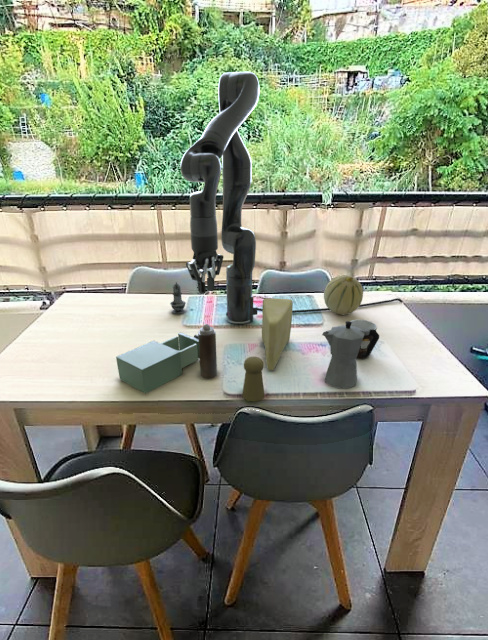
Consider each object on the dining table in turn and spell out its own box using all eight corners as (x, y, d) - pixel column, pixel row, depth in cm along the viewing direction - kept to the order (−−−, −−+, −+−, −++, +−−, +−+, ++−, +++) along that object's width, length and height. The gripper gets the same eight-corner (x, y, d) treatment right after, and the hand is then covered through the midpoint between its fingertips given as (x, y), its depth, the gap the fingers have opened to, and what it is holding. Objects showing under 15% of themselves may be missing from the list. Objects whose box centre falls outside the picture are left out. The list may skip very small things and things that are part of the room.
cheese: (287, 372, 122) (290, 325, 114) (254, 370, 123) (254, 323, 115) (290, 340, 141) (293, 297, 133) (261, 338, 142) (262, 296, 134)
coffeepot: (320, 389, 114) (327, 329, 105) (314, 372, 122) (320, 315, 113) (376, 388, 114) (388, 328, 105) (366, 371, 123) (376, 314, 113)
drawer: (192, 343, 136) (191, 327, 133) (215, 353, 131) (214, 336, 128) (151, 363, 125) (149, 346, 122) (174, 374, 119) (173, 356, 116)
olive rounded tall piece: (241, 389, 114) (241, 353, 108) (263, 388, 114) (264, 353, 109) (243, 402, 109) (243, 365, 103) (265, 400, 109) (267, 364, 104)
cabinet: (156, 362, 127) (153, 340, 123) (182, 374, 121) (180, 351, 117) (119, 379, 118) (115, 356, 115) (145, 393, 112) (142, 369, 108)
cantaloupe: (331, 303, 171) (336, 267, 163) (366, 311, 163) (372, 273, 156) (315, 314, 160) (318, 276, 153) (350, 323, 153) (356, 283, 145)
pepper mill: (216, 370, 123) (214, 320, 115) (218, 378, 119) (216, 327, 111) (199, 371, 122) (196, 321, 114) (201, 379, 118) (198, 328, 110)
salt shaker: (187, 309, 165) (185, 279, 158) (184, 315, 160) (182, 284, 153) (173, 308, 165) (170, 279, 159) (169, 314, 160) (166, 284, 154)
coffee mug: (372, 350, 134) (378, 321, 129) (370, 362, 127) (376, 332, 122) (336, 345, 137) (340, 317, 132) (332, 356, 130) (336, 327, 125)
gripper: (195, 238, 110) (198, 300, 119) (230, 230, 120) (231, 288, 128) (176, 235, 115) (181, 295, 123) (211, 227, 124) (213, 283, 133)
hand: (206, 291), depth 126 cm, fingers open, 3 cm apart
